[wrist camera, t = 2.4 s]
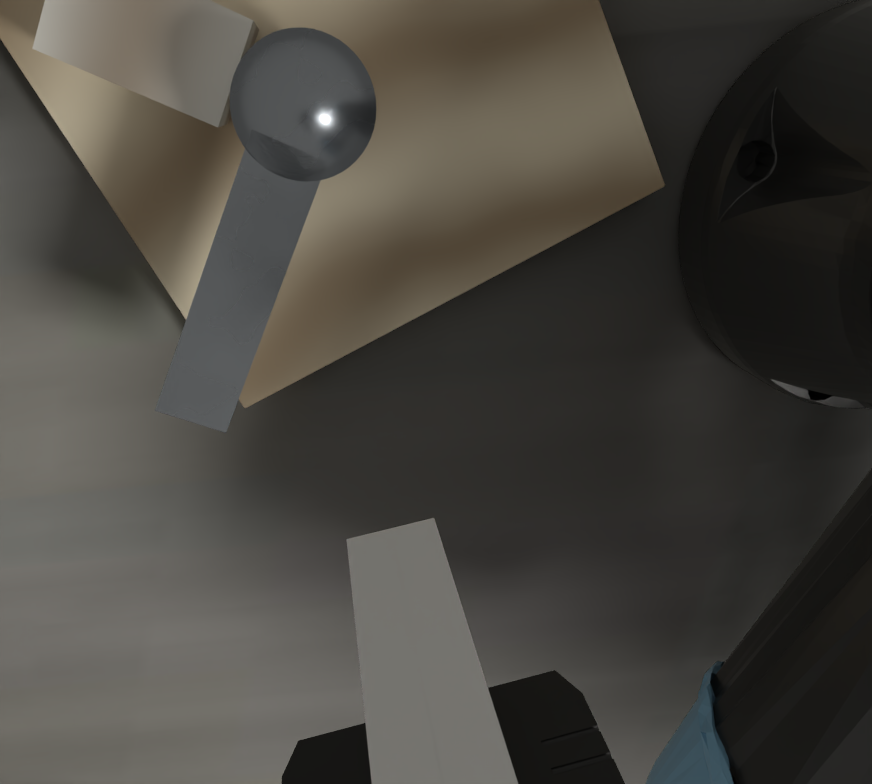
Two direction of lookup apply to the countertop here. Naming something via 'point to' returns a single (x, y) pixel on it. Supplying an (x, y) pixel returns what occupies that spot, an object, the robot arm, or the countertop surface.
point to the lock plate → (373, 171)
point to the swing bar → (266, 207)
